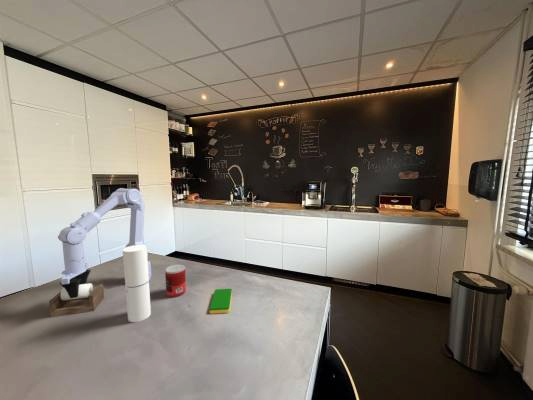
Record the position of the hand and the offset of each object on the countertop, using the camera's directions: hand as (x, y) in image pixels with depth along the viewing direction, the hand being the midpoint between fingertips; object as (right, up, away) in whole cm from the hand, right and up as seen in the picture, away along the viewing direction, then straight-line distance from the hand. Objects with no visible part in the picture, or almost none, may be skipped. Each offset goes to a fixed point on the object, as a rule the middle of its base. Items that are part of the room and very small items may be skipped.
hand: (78, 293), depth 84 cm
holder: (0, -5, +1) cm, 5 cm away
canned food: (+33, -4, +11) cm, 35 cm away
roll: (0, +1, 0) cm, 1 cm away
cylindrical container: (+26, -6, -5) cm, 27 cm away
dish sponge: (+54, -6, +4) cm, 54 cm away
